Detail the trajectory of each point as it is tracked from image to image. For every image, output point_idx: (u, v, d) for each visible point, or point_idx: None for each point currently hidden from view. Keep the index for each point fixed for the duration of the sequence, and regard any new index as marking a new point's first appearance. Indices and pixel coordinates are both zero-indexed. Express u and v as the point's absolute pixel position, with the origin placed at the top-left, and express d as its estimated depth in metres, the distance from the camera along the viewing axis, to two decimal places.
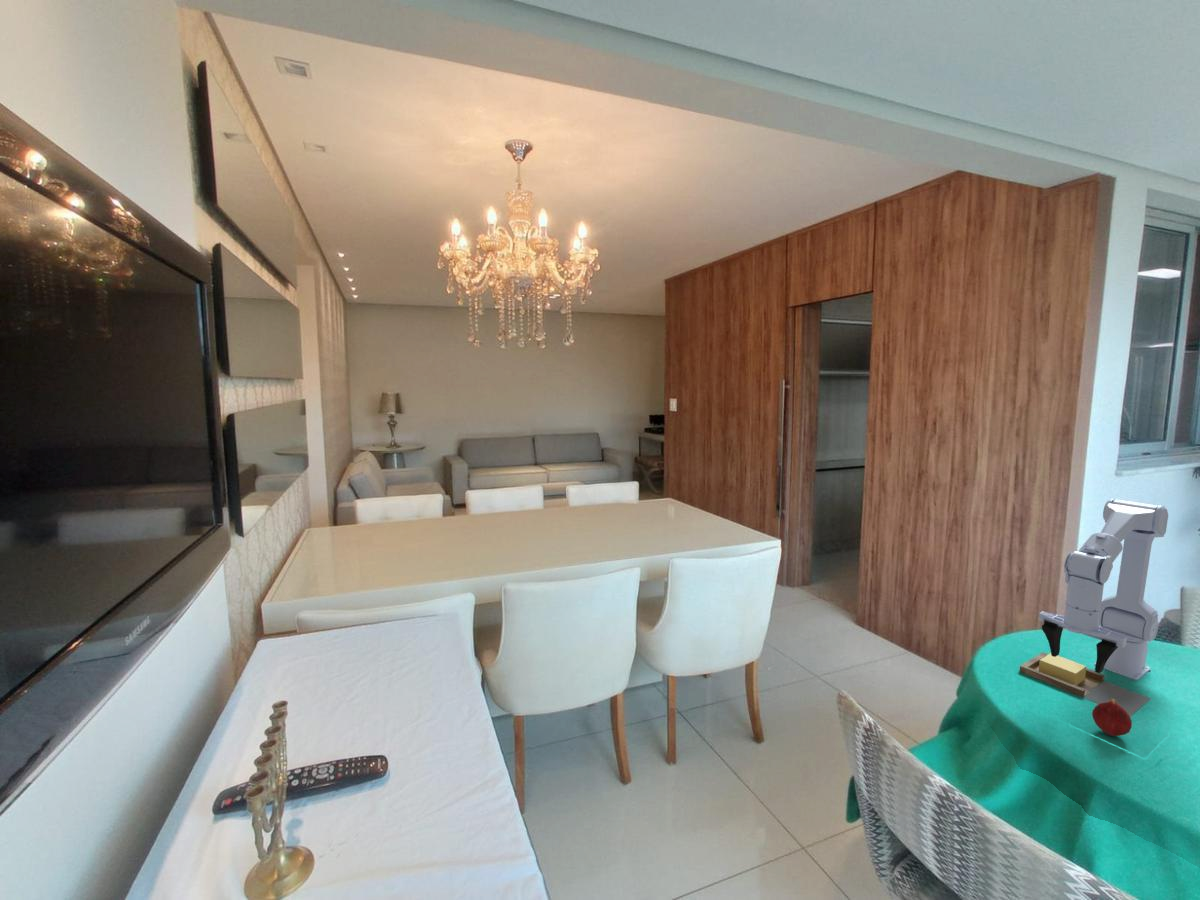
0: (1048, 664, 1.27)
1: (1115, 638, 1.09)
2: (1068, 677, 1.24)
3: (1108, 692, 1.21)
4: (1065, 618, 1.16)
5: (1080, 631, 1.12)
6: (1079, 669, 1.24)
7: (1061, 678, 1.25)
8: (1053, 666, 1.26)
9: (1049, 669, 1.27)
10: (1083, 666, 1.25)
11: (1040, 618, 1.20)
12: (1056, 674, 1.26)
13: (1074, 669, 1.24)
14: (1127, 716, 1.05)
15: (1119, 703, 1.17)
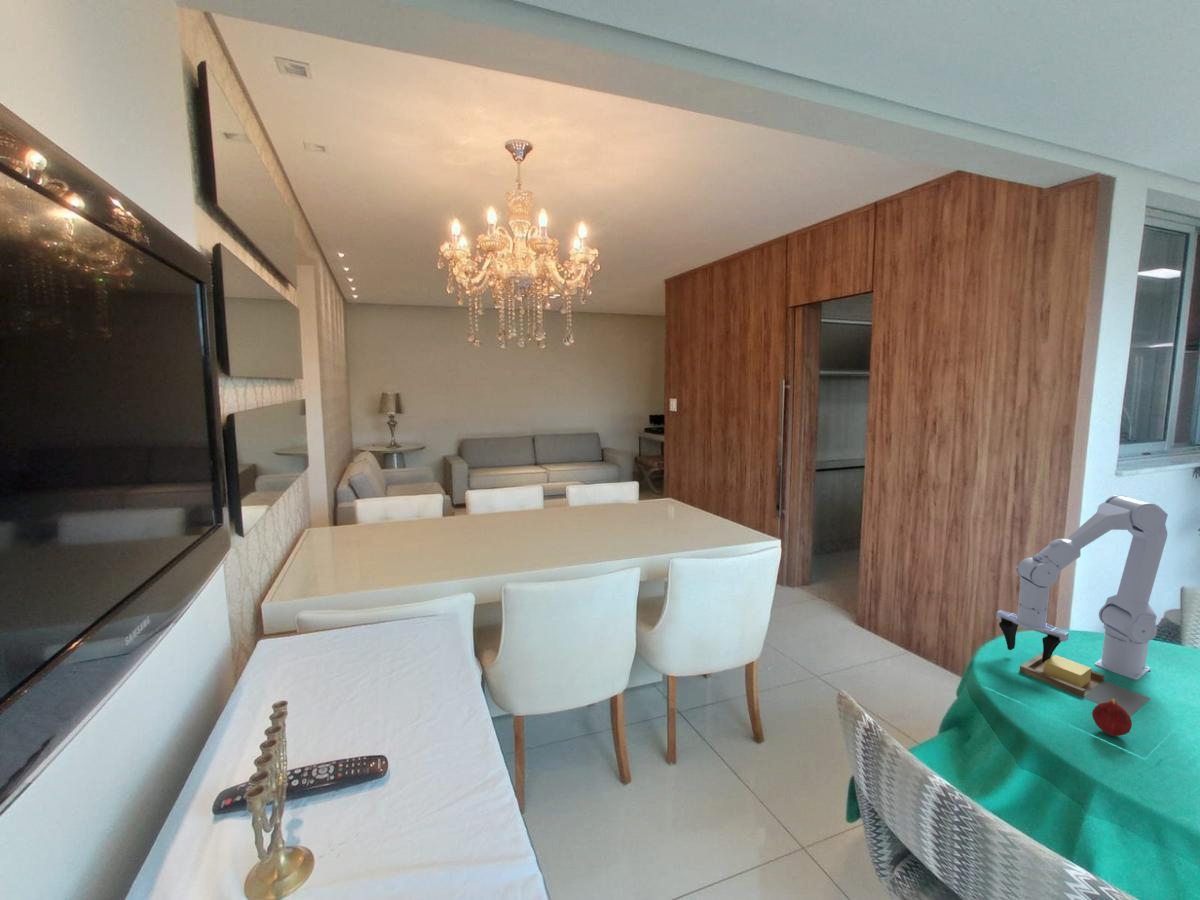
0: (1053, 666, 1.26)
1: (1058, 633, 1.26)
2: (1073, 679, 1.23)
3: (1108, 692, 1.21)
4: (1018, 616, 1.33)
5: (1029, 627, 1.30)
6: (1084, 671, 1.23)
7: (1066, 680, 1.24)
8: (1058, 668, 1.26)
9: (1053, 671, 1.26)
10: (1088, 668, 1.25)
11: (998, 616, 1.38)
12: (1061, 676, 1.25)
13: (1079, 671, 1.23)
14: (1127, 716, 1.05)
15: (1119, 703, 1.17)
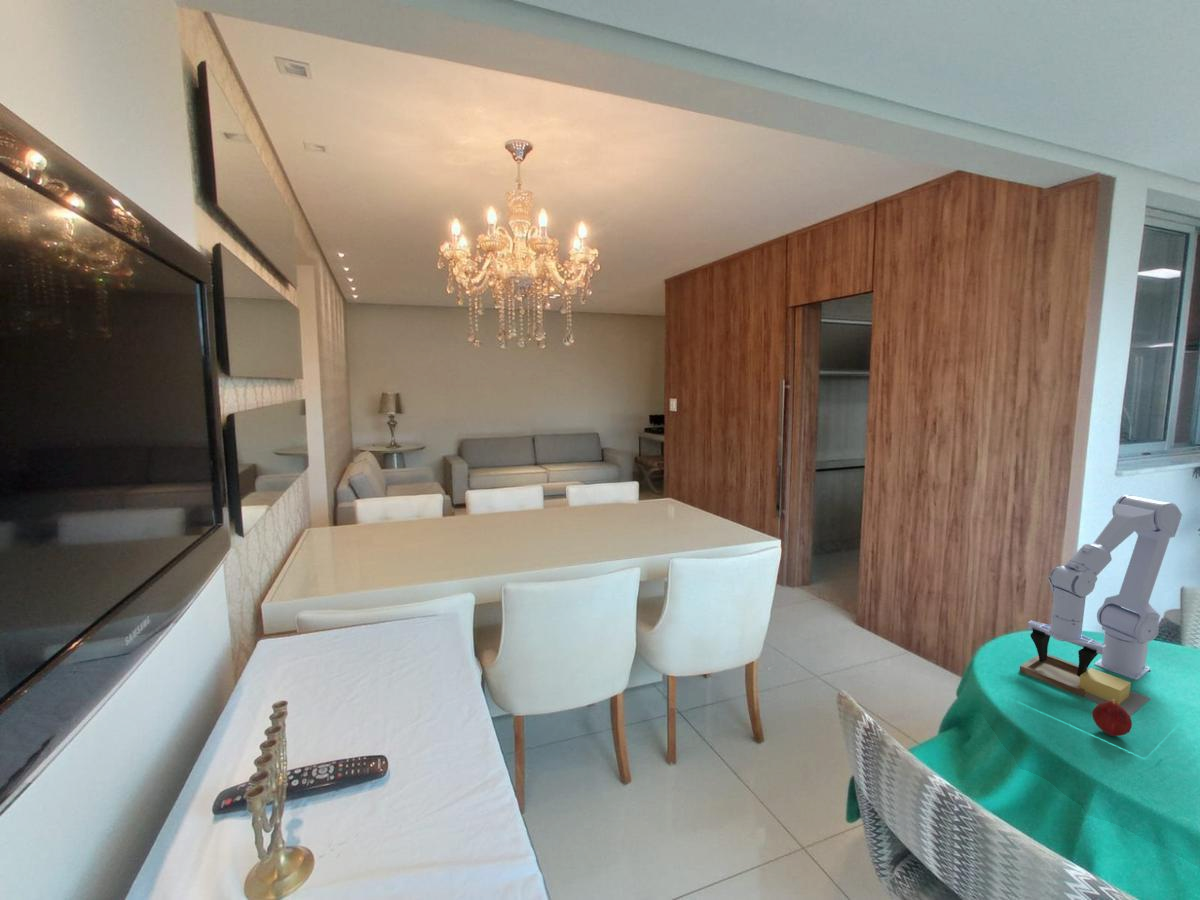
0: (1089, 680, 1.20)
1: (1095, 646, 1.20)
2: (1112, 694, 1.17)
3: None
4: (1051, 627, 1.27)
5: (1064, 639, 1.24)
6: (1123, 686, 1.17)
7: (1104, 695, 1.18)
8: (1095, 682, 1.20)
9: (1090, 685, 1.20)
10: (1127, 682, 1.19)
11: (1029, 627, 1.32)
12: (1098, 691, 1.19)
13: (1118, 686, 1.17)
14: (1127, 716, 1.05)
15: None
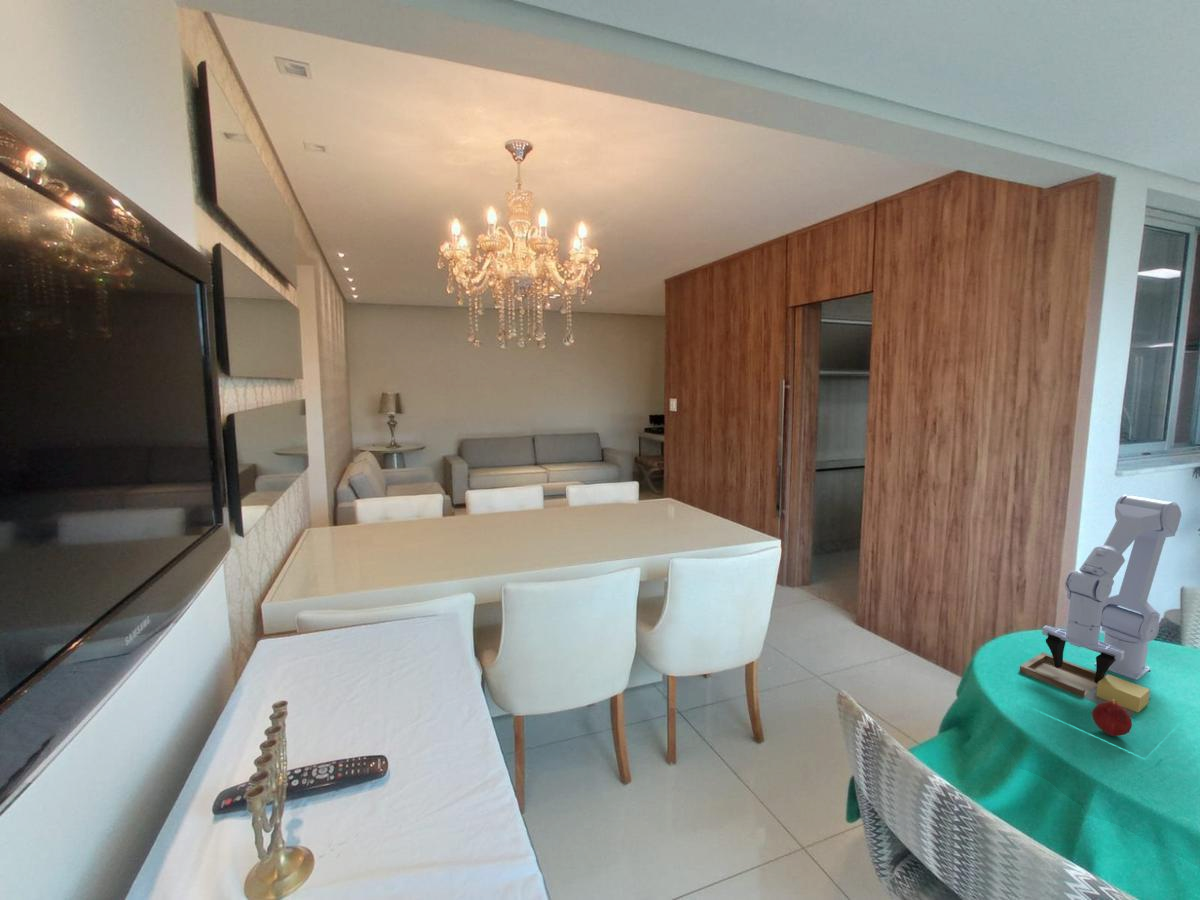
0: (1108, 687, 1.18)
1: (1114, 652, 1.18)
2: (1131, 702, 1.14)
3: None
4: (1067, 632, 1.24)
5: (1081, 645, 1.21)
6: (1143, 693, 1.15)
7: (1123, 702, 1.16)
8: (1113, 689, 1.17)
9: (1108, 692, 1.18)
10: (1146, 689, 1.16)
11: (1044, 632, 1.29)
12: (1117, 698, 1.16)
13: (1137, 693, 1.15)
14: (1127, 716, 1.05)
15: None
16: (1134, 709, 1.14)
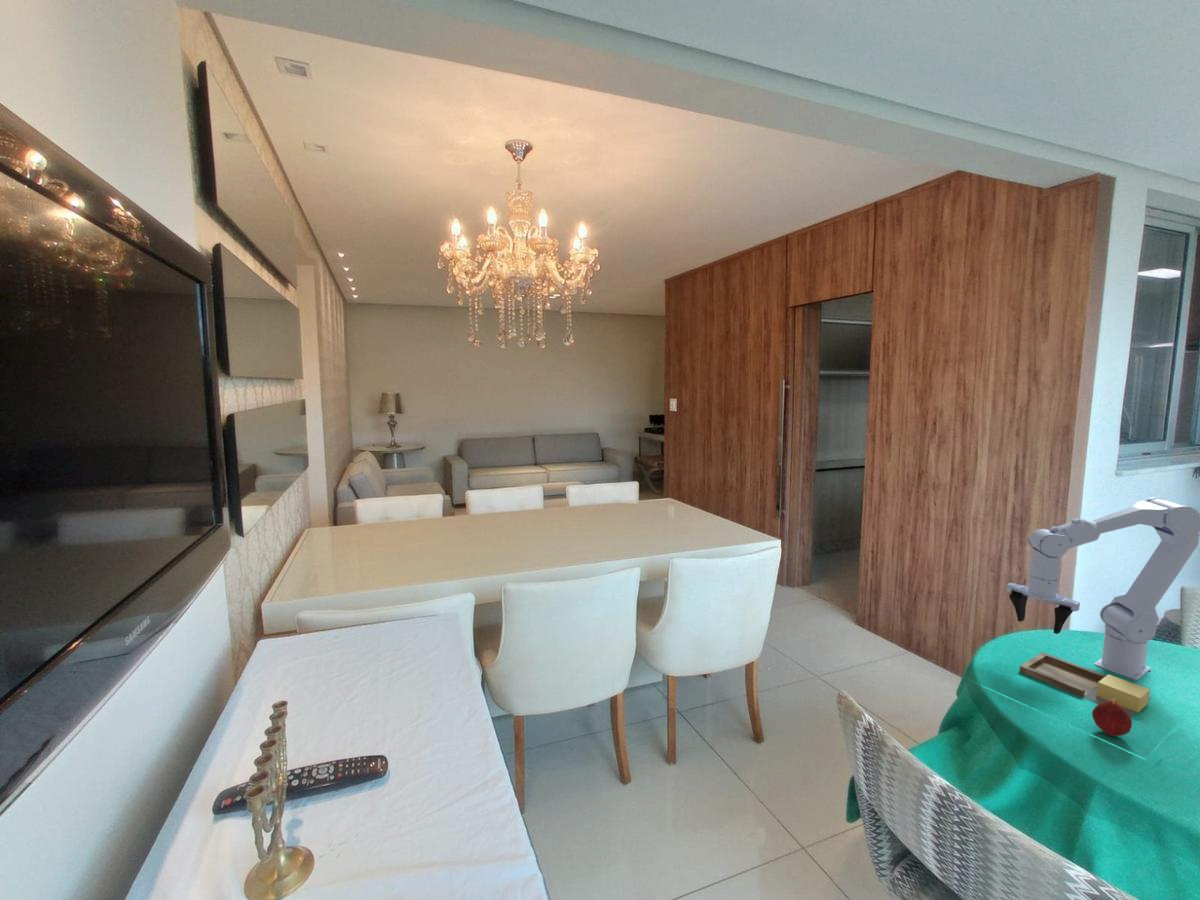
0: (1108, 687, 1.18)
1: (1070, 603, 1.27)
2: (1131, 702, 1.14)
3: None
4: (1029, 587, 1.33)
5: (1041, 598, 1.30)
6: (1143, 693, 1.15)
7: (1123, 702, 1.16)
8: (1114, 689, 1.17)
9: (1108, 692, 1.18)
10: (1146, 689, 1.16)
11: (1008, 588, 1.38)
12: (1117, 698, 1.16)
13: (1137, 693, 1.15)
14: (1127, 716, 1.05)
15: None
16: (1134, 709, 1.14)
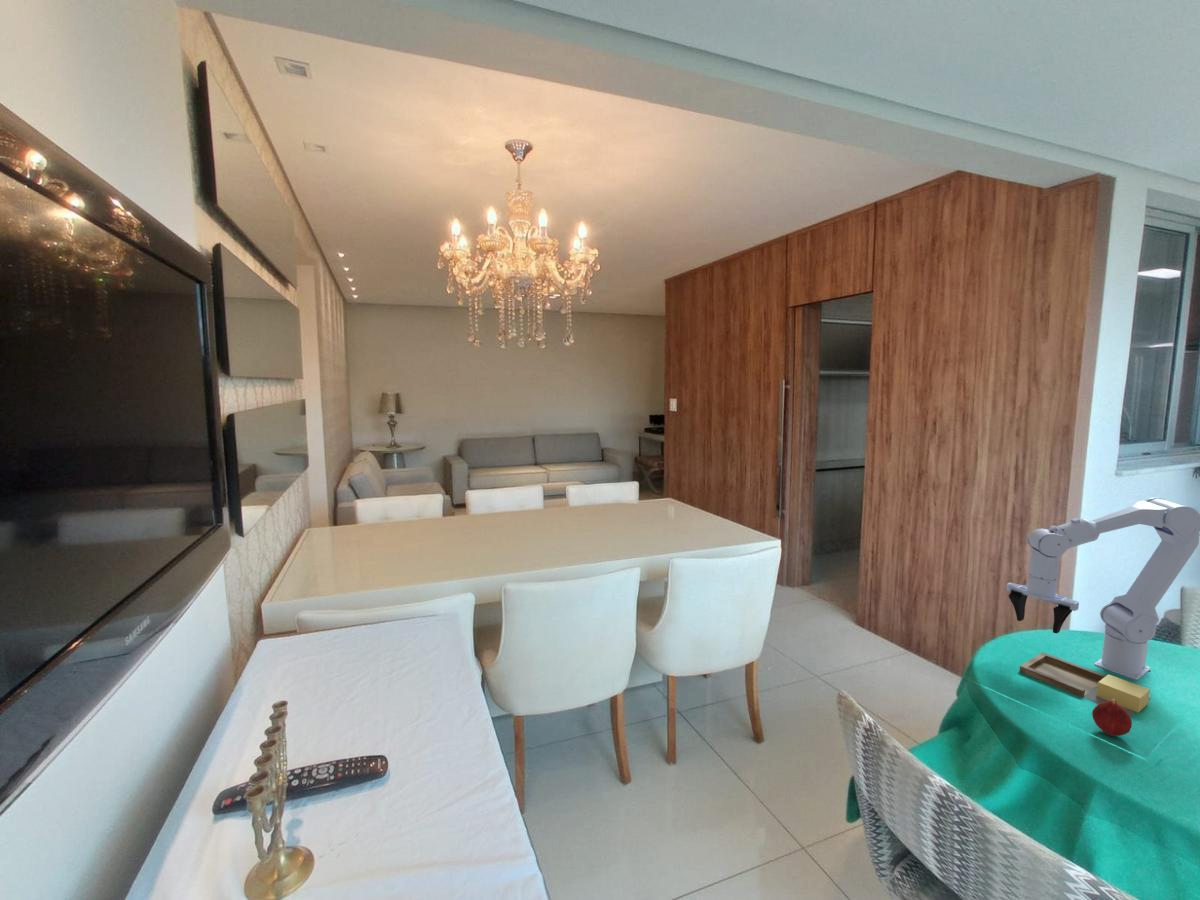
0: (1108, 687, 1.18)
1: (1069, 602, 1.27)
2: (1131, 702, 1.14)
3: None
4: (1028, 587, 1.34)
5: (1040, 597, 1.30)
6: (1143, 693, 1.15)
7: (1123, 702, 1.16)
8: (1114, 689, 1.17)
9: (1108, 692, 1.18)
10: (1146, 689, 1.16)
11: (1007, 588, 1.39)
12: (1117, 698, 1.16)
13: (1137, 693, 1.15)
14: (1127, 716, 1.05)
15: None
16: (1134, 709, 1.14)
